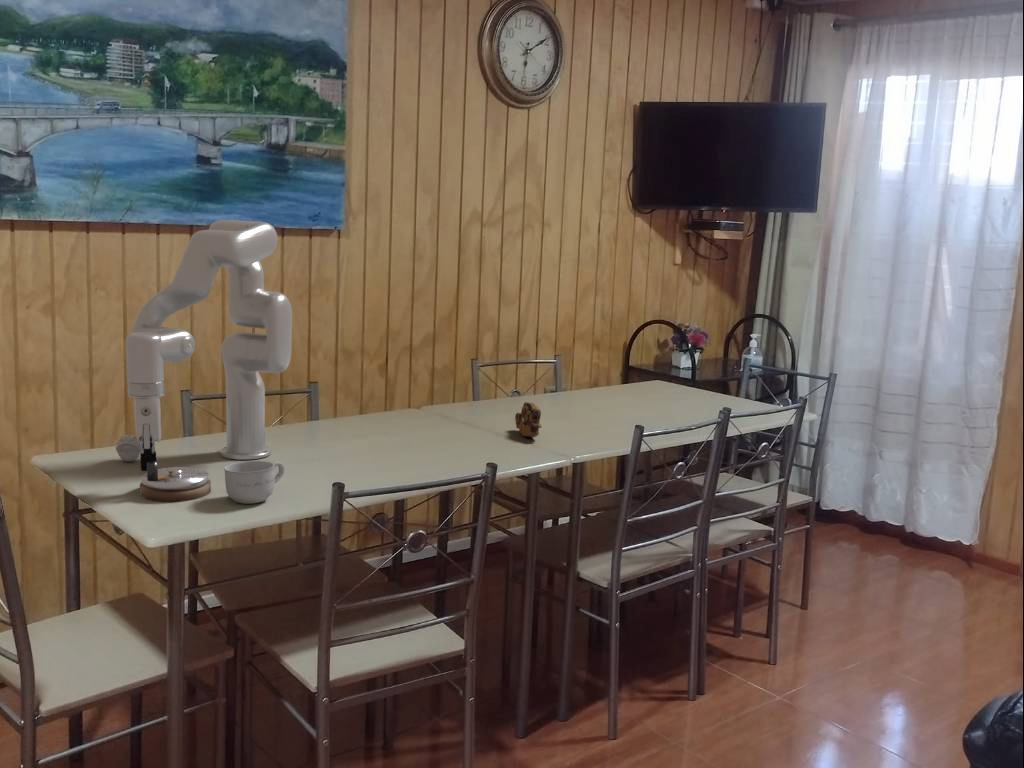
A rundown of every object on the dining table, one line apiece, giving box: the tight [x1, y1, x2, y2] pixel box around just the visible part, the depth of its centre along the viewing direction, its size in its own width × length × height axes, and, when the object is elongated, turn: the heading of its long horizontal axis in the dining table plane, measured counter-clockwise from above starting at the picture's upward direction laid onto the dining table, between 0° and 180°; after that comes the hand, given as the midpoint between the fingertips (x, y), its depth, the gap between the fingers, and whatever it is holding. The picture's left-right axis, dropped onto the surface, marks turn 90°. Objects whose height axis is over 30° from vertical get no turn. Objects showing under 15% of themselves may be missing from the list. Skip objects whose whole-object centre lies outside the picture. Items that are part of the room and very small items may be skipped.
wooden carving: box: [514, 401, 542, 438], centre depth 289 cm, size 16×5×10 cm, turn 23°
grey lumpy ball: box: [115, 434, 141, 463], centre depth 244 cm, size 6×7×7 cm
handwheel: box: [141, 460, 209, 491], centre depth 221 cm, size 14×14×6 cm
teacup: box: [223, 460, 285, 505], centre depth 219 cm, size 14×11×8 cm
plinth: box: [139, 478, 212, 503], centre depth 222 cm, size 15×15×2 cm
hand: (148, 469), depth 220 cm, fingers closed
